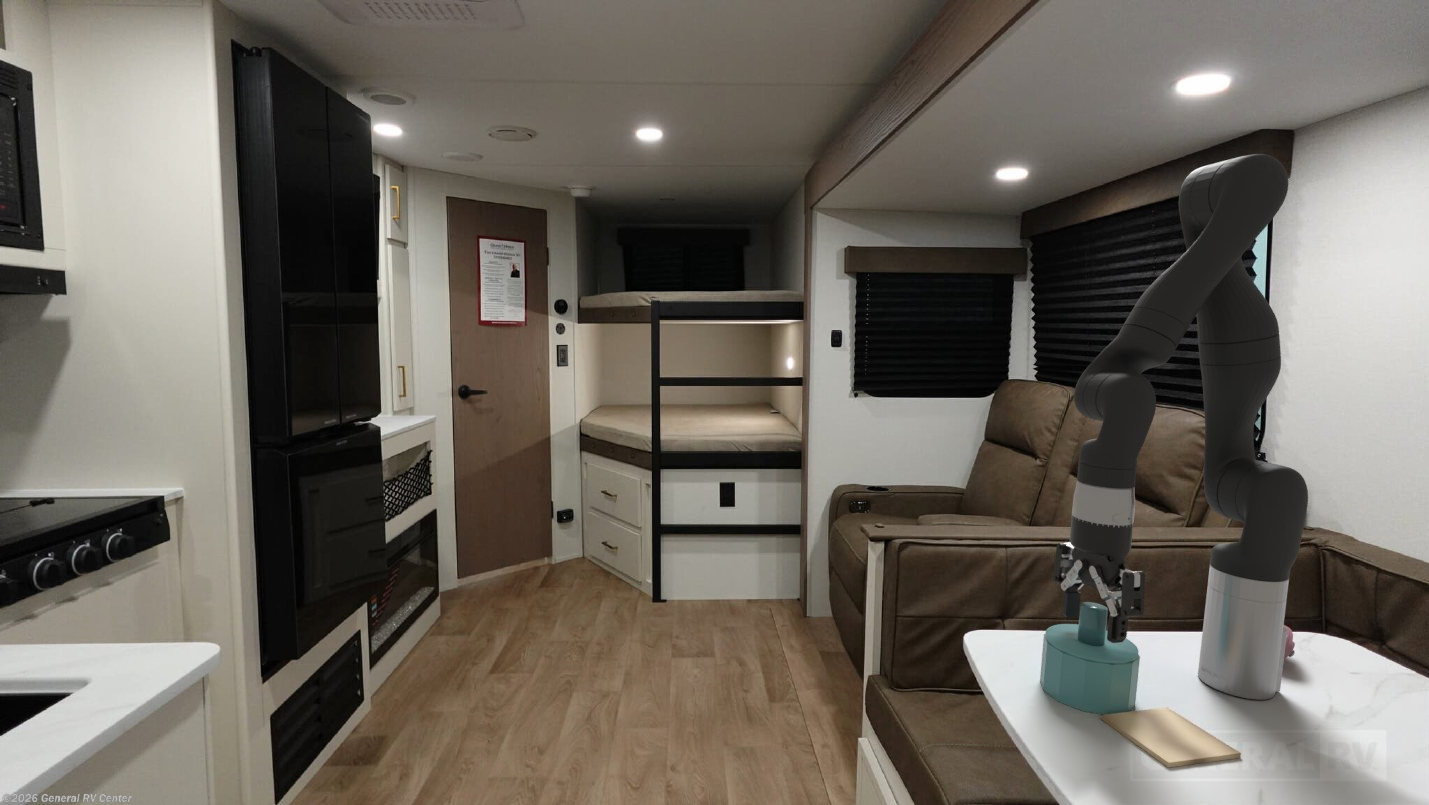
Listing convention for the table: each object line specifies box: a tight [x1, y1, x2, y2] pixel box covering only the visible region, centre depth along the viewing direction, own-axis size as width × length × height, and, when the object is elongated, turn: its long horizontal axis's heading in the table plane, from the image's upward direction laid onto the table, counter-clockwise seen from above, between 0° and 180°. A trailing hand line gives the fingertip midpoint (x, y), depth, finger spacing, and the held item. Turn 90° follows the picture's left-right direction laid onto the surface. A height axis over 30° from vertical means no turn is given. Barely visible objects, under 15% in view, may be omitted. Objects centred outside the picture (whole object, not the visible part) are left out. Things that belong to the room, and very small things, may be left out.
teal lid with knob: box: [1039, 601, 1141, 715], centre depth 101 cm, size 12×12×13 cm
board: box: [1100, 707, 1242, 768], centre depth 91 cm, size 11×11×1 cm
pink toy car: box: [1283, 624, 1296, 660], centre depth 115 cm, size 10×5×7 cm, turn 148°
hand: (1091, 628), depth 101 cm, fingers open, 8 cm apart
